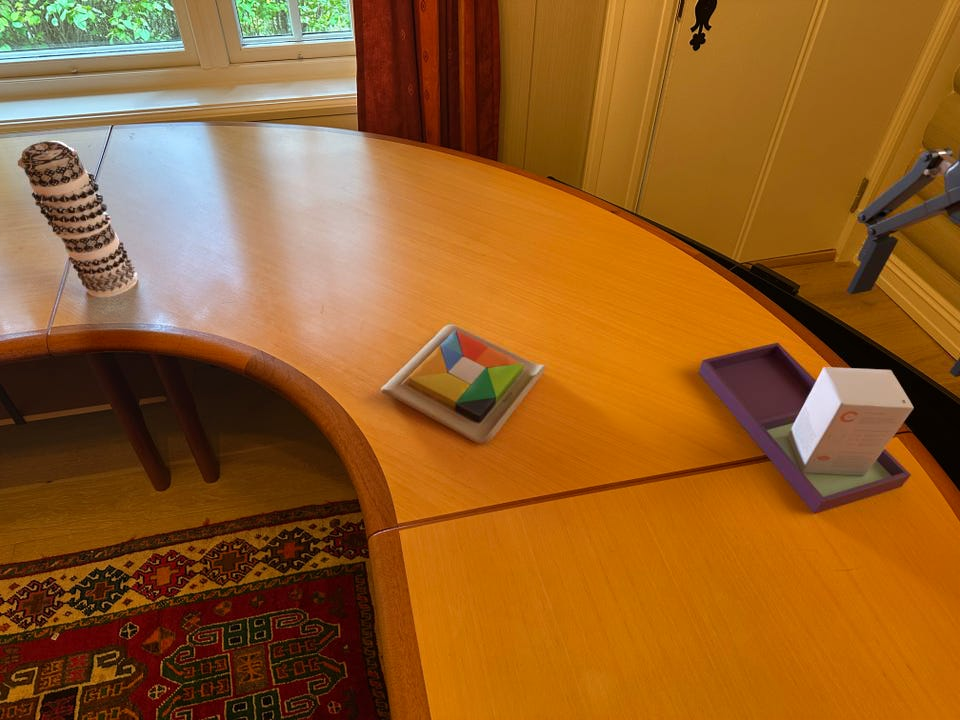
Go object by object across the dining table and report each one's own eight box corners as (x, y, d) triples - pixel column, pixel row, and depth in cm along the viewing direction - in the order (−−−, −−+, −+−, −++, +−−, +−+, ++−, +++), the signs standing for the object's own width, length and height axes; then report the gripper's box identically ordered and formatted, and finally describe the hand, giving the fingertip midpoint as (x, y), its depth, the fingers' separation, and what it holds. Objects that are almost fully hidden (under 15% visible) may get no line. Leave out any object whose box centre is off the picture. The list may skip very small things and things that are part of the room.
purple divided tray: (772, 354, 94) (777, 342, 93) (901, 487, 76) (911, 474, 75) (698, 372, 91) (702, 359, 90) (814, 514, 74) (822, 502, 72)
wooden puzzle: (488, 450, 81) (489, 433, 78) (377, 396, 88) (374, 379, 85) (548, 372, 91) (550, 355, 89) (445, 329, 99) (444, 313, 96)
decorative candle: (147, 284, 108) (85, 149, 91) (92, 305, 103) (15, 166, 86) (131, 262, 113) (69, 129, 96) (78, 281, 108) (2, 145, 91)
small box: (847, 438, 81) (892, 368, 72) (865, 477, 76) (916, 408, 68) (785, 434, 82) (822, 365, 73) (799, 473, 77) (842, 404, 68)
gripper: (878, 77, 56) (796, 268, 70) (1175, 203, 39) (985, 423, 53) (942, 69, 58) (849, 258, 72) (1254, 187, 40) (1049, 404, 55)
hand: (906, 328), depth 63 cm, fingers open, 13 cm apart
